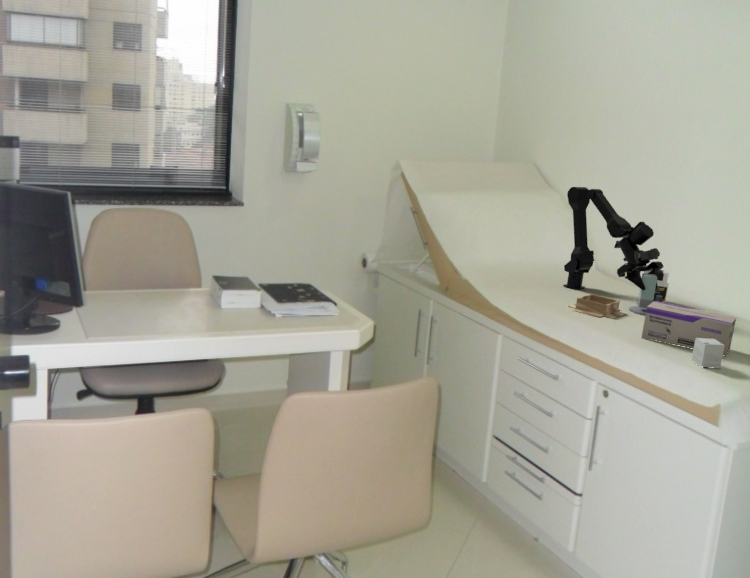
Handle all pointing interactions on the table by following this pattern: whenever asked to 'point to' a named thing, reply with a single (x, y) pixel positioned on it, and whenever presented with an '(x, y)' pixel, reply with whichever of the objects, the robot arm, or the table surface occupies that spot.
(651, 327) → the surgical sutures box
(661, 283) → the medicine bottle
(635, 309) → the mat
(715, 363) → the skincare box
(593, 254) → the robot arm
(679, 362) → the table surface
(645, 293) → the slim box
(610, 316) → the carton
